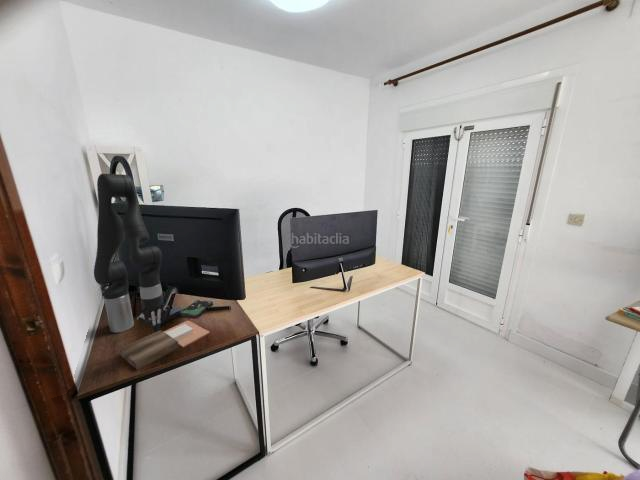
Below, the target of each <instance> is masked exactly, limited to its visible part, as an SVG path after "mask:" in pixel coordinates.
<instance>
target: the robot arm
mask: <svg viewBox="0 0 640 480" xmlns="http://www.w3.org/2000/svg"><path fill="white" fill-rule="evenodd" d="M96 183H97V184H96V187H97V204H98V215H97V216H98V219H97V234H96V237H97V240H96V241H97V242H96V243H97V245H96V257H95V262H94V266H93V267H94V268H93V278H94V280H95V282H96V283H97V284H98V285H101V286H106V285H110V284H111V285H110V286H108V287H107V288H105V289H104V291H103V292H102V295H103V301H104V306H105V311H106V314H107V315H106V316H107V321H108V326H109V331H110V333H122V332H126V331H128V330H129V329H132V327H134V325H135V323H134V317H133V311H132V305H131V299H130V294H129V287H130V286H129V279H128V278H129V277H128V270H127V267H126V265H125V262H123V261H121V260H114V261H112V259H113V257H114V255H116V253H117V252H118V251H119V249H120V248H121V246H122V245H123V243H124V242H125V239H126V237H127V241H128V245H129V261H130V264H132V266H134V267H136V268H141V267H142V268H143V267H145V266H148V267H146V268H145V269H143V270H141V271H140V272H139V273H138V283H139V294H140V303H141V313H140V315H138V316H136V317H135V319H136V320H137V321H138V322H141V323H143V324H144V325H146V326H147V327H148V326H149V327H151V328H150V329H151V331H152V332H153V333H155V332H158V331H160V330H161V322H162V321H164V320H165V319H166V317H167V315H168V313H169V312H170V310H171V307H170V306H169V305H167V304H166V305H165V303H164V297H163V296H164V295H163V290H162V289H163V288H162V285H161V278H160V270H161V264H162V260H163V253H162V250H161V249H160V247H158V246H157V245H154V246H153V245H152V246H147V247H142V248H140V246H141V245H143V244H145V243H147V242H149V240H150V235H149V232H148V230H147V227H146V225H145V222H144V220H143V216H142V212H141V208H140V203H139V197H138V194H137V190H136V189H137V188H136V186H135V185H136V184H135V182H134V180H133V179H132V177H131V176H130V175H127V174H121V173H120V174H119V173H117V174H116V173H100V174H99V175H98V177H97V182H96ZM112 198H125V199H126V202H127V206H126V211H125V214H124V216H123V219H122V218H121V217H120V216H119V214H118V213H117V212H116V211H115V209H114V208H113V202H112ZM145 318H147V319H148V320H147V319H145Z"/></svg>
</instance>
